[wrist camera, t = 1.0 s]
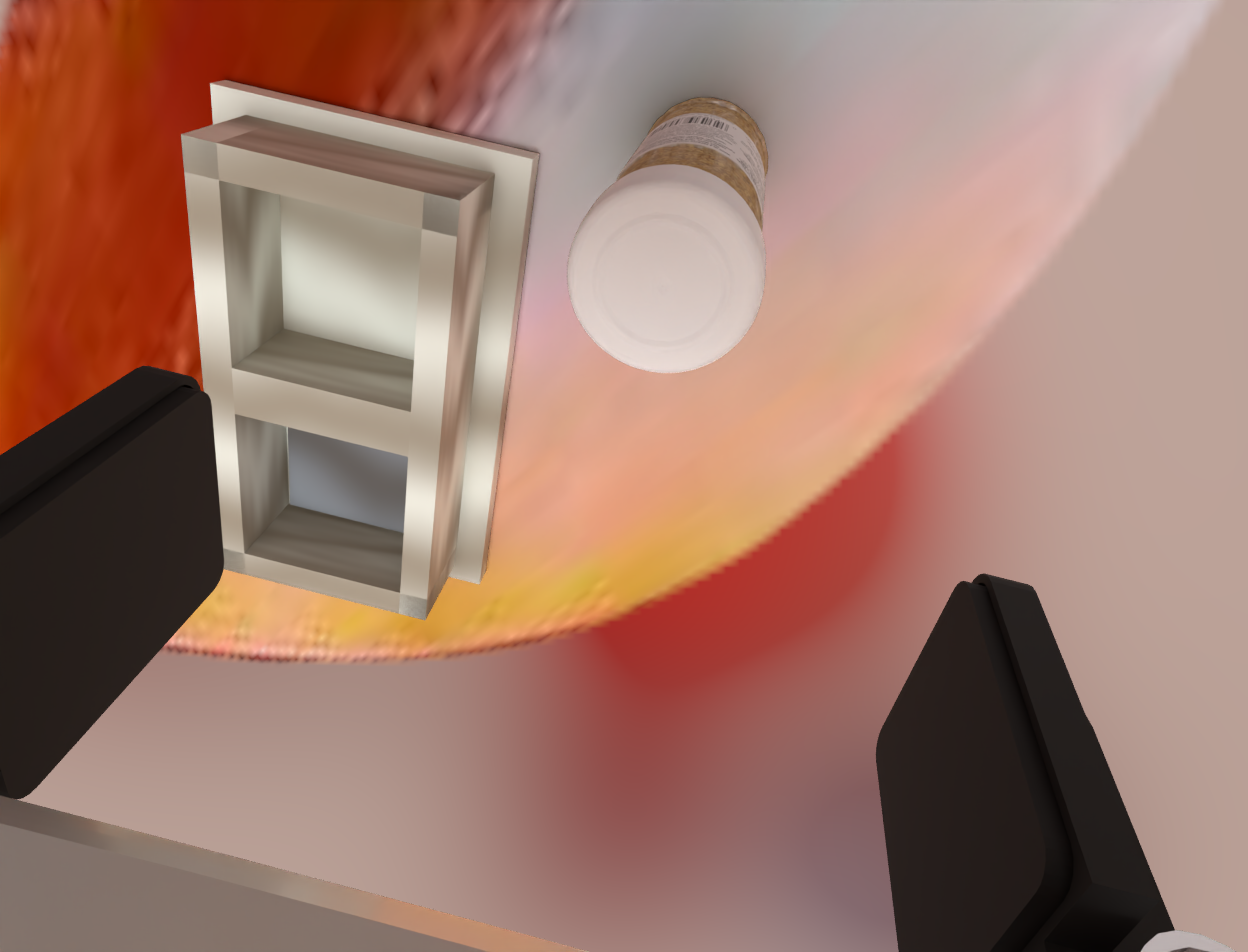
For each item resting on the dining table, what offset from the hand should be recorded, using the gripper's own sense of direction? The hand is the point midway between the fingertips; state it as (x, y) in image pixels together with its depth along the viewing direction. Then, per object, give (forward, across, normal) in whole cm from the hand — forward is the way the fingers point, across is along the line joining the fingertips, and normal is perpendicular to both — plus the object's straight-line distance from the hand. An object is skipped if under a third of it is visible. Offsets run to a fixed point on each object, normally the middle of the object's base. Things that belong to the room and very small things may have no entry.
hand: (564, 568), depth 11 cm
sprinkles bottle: (+24, 0, 0) cm, 24 cm away
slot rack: (+24, +12, +11) cm, 29 cm away
